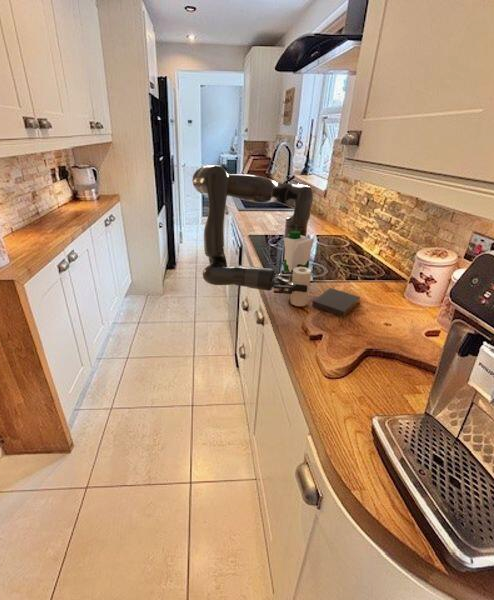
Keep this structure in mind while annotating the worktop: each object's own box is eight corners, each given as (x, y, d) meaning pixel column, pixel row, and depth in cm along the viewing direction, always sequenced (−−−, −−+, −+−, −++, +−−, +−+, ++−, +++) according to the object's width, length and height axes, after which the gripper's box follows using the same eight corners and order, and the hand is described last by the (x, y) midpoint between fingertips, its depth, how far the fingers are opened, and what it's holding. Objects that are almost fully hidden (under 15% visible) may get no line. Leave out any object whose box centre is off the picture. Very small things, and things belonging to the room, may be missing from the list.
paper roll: (295, 296, 116) (299, 265, 110) (310, 301, 112) (314, 269, 107) (287, 302, 112) (289, 270, 106) (301, 308, 109) (305, 275, 103)
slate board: (329, 292, 119) (330, 287, 118) (359, 302, 113) (360, 296, 112) (312, 306, 111) (312, 300, 110) (343, 317, 104) (344, 311, 103)
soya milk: (293, 276, 132) (298, 228, 123) (311, 284, 126) (317, 233, 116) (278, 282, 128) (281, 232, 118) (295, 290, 121) (300, 238, 112)
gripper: (254, 276, 105) (306, 283, 100) (264, 261, 117) (312, 266, 112) (253, 297, 109) (304, 304, 104) (263, 279, 121) (309, 285, 116)
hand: (308, 284), depth 108 cm, fingers closed on paper roll, 5 cm apart
